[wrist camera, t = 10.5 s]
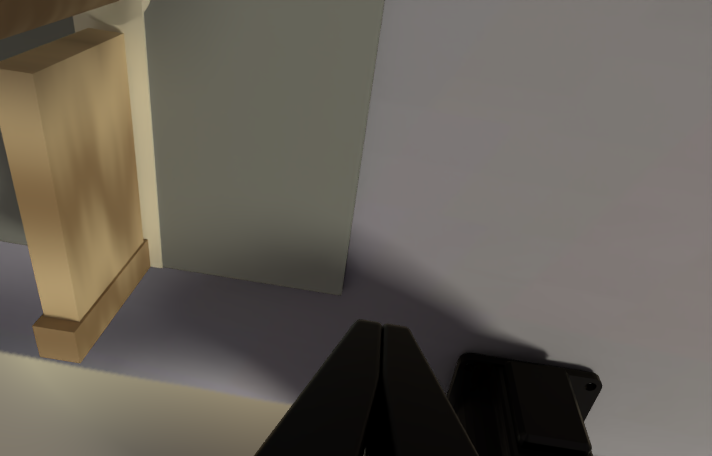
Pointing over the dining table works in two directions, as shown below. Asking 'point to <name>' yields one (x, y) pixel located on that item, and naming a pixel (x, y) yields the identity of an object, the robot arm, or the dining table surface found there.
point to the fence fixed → (73, 172)
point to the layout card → (238, 131)
